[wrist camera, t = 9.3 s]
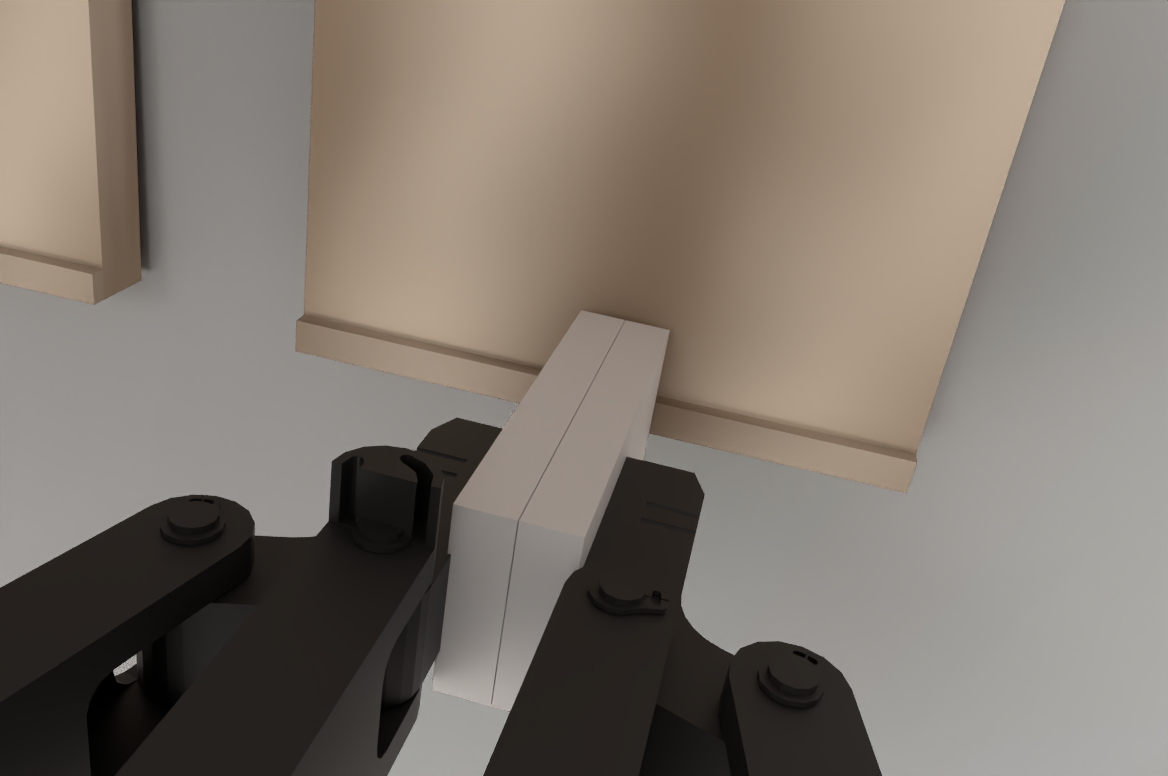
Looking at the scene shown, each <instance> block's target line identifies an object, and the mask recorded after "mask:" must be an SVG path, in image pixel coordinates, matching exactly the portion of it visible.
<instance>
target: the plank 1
mask: <svg viewBox="0 0 1168 776" xmlns="http://www.w3.org/2000/svg"><path fill="white" fill-rule="evenodd" d="M139 281H141V254H140V226H139V198H138V170H137V142H136V114H135V86H134V58H133V30H132V2H131V0H0V283H3V284H8V285H12V286H16V287H21V288H25V289H29V290H34V291H38V292H42V293H46V294H51V295H55V296H59V297H64V298H68V299H72V300H77V301H81V302H85V303H89V304H96V303H98V302H100V301H102V300H104V299H106V298H108V297H110V296H112V295H114V294H115V293H117V292H119V291H121V290H123V289H125V288H127V287H129V286H131V285H133V284H135V283H137V282H139Z"/></svg>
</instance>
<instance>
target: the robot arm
mask: <svg viewBox="0 0 1168 776" xmlns="http://www.w3.org/2000/svg"><path fill="white" fill-rule="evenodd" d="M669 332H670V330H667V329H663V328H658V327H654V326H650V325H645V324H641V323H636V322H632V321H627V320H623V319H619V318H614V317H610V316H605V315H601V314H596V313H592V312H588V311H583V310H581V311H580V313H579V314H578V316H577V317H576V319H575V320H574V322H573V323H572V325H571V326H570V328H569V330H568V331H567V333H566V334H565V336H564V337H563V339H562V340H561V342H560V343H559V345H558V346H557V348H556V349H555V351H554V352H553V354H552V355H551V357H550V358H549V360H548V361H547V363H546V364H545V366H544V367H543V369H542V370H541V372H540V373H539V375H538V376H537V378H536V379H535V381H534V382H533V384H532V385H531V387H530V389H529V390H528V392H527V393H526V395H525V396H524V398H523V399H522V401H521V402H520V404H519V405H518V407H517V408H516V410H515V411H514V413H513V414H512V416H511V417H510V419H509V420H508V422H507V423H506V425H505V426H504V428H503V429H501V428H497V427H493V426H489V425H485V424H481V423H477V422H472V421H468V420H464V419H460V418H455V419H453V420H451V421H449V422H447V423H445V424H443V425H440V426H438V427H436V428H434V429H432V430H431V431H430V432H429V433H428V435H427V436H426V437H425V438H424V440H423V441H422V442H421V443H420V445H419V446H418V447H417V451H412V450H410V449H406V448H399V447H392V446H370V447H362V448H358V449H355V450H351V451H348V452H345V453H343V454H342V455H340V456H339V457H337V458H336V459H334V460H333V461H332V470H331V488H330V507H329V522H328V523H327V524H326V525H325V526H324V527H323V529H322V530H321V531H320V532H319V533H318V535H317V536H314V537H294V538H291V537H271V536H254V535H255V523H254V520H253V518H252V516H251V514H250V512H249V511H248V510H247V509H245V508H244V507H242V506H241V505H239V504H238V503H237V502H235V501H231V500H228V499H224V498H221V497H217V496H208V495H206V496H205V495H189V496H182V497H175V498H170V499H167V500H164V501H162V502H159V503H157V504H154V505H151V506H149V507H147V508H146V509H144V510H142V511H140V512H138V513H136V514H135V515H133V516H131V517H129V518H127V519H125V520H124V521H122V522H120V523H118V524H116V525H115V526H113V527H111V528H109V529H107V530H105V531H104V532H102V533H100V534H98V535H96V536H94V537H93V538H91V539H89V540H87V541H85V542H83V543H82V544H80V545H78V546H76V547H74V548H72V549H71V550H69V551H67V552H65V553H63V554H61V555H60V556H58V557H56V558H54V559H52V560H50V561H49V562H47V563H45V564H43V565H41V566H39V567H38V568H36V569H34V570H32V571H30V572H28V573H27V574H25V575H23V576H21V577H19V578H17V579H16V580H14V581H12V582H10V583H8V584H6V585H5V586H3V587H1V588H0V776H387V775H388V773H389V771H390V769H391V767H392V765H393V763H394V761H395V760H396V758H397V756H398V754H399V752H400V750H401V748H402V746H403V744H404V742H405V740H406V738H407V736H408V735H409V733H410V731H411V729H412V727H413V725H414V723H415V721H416V719H417V715H418V710H419V706H420V697H421V688H422V682H423V681H424V679H425V677H426V675H427V673H428V672H429V670H430V668H431V666H432V664H433V662H434V661H435V667H434V676H433V685H432V690H434V691H437V692H441V693H444V694H448V695H452V696H455V697H459V698H462V699H466V700H469V701H473V702H476V703H480V704H483V705H487V706H491V704H492V706H491V707H494V708H498V709H501V710H505V711H508V712H510V714H509V716H508V718H507V721H506V723H505V725H504V728H503V730H502V733H501V735H500V737H499V740H498V742H497V744H496V747H495V749H494V751H493V754H492V756H491V759H490V761H489V763H488V766H487V768H486V770H485V773H484V775H483V776H882V774H881V771H880V769H879V766H878V763H877V760H876V757H875V754H874V751H873V749H872V746H871V743H870V740H869V737H868V734H867V732H866V729H865V726H864V723H863V720H862V717H861V714H860V712H859V709H858V706H857V703H856V700H855V697H854V695H853V692H852V689H851V688H850V686H849V684H848V683H847V681H846V679H845V678H844V676H843V674H842V673H841V672H840V671H839V670H838V669H837V668H835V667H834V666H833V665H832V664H831V663H830V662H828V661H827V660H826V659H825V658H824V657H822V656H820V655H818V654H816V653H814V652H811V651H809V650H807V649H805V648H803V647H800V646H796V645H792V644H788V643H784V642H779V641H776V642H756V643H753V644H751V645H748V646H746V647H743V648H740V650H739V651H738V652H737V653H736V654H735V656H734V655H732V654H730V653H728V652H727V651H725V650H723V649H721V648H719V647H717V646H716V645H714V644H713V643H711V642H709V641H708V640H706V639H705V638H704V637H703V636H701V635H700V634H699V633H698V632H697V631H696V630H695V629H694V628H693V627H692V626H691V624H690V623H689V622H688V620H687V619H686V617H685V615H684V612H683V610H682V607H681V594H682V590H683V585H684V581H685V577H686V572H687V568H688V564H689V559H690V555H691V551H692V546H693V542H694V538H695V533H696V529H697V525H698V520H699V516H700V512H701V507H702V503H703V499H704V492H703V490H702V488H701V486H700V484H699V482H698V480H697V478H696V475H695V473H692V472H688V471H684V470H680V469H676V468H672V467H668V466H663V465H659V464H655V463H651V462H647V461H643V460H644V455H645V450H646V445H647V440H648V435H649V430H650V425H651V420H652V415H653V410H654V406H655V401H656V396H657V391H658V386H659V381H660V376H661V371H662V366H663V361H664V357H665V352H666V347H667V342H668V337H669ZM135 654H136V655H137V664H135V665H134V666H133V667H131V668H130V669H128V670H127V671H125V672H123V673H121V674H119V675H117V676H114V674H113V670H114V669H115V668H117V667H118V666H119V665H121V664H122V663H124V662H125V661H127V660H128V659H130V658H131V657H133V656H134V655H135Z"/></svg>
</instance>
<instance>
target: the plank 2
mask: <svg viewBox="0 0 1168 776" xmlns="http://www.w3.org/2000/svg"><path fill="white" fill-rule="evenodd" d="M1064 3H1065V0H315V15H314V43H313V72H312V101H311V130H310V159H309V188H308V216H307V245H306V274H305V303H304V315H303V316H302V317H301V318H299V319H298V320H297V323H296V351H297V352H302V353H306V354H310V355H315V356H319V357H323V358H328V359H332V360H336V361H340V362H345V363H349V364H353V365H358V366H362V367H366V368H371V369H375V370H379V371H383V372H388V373H392V374H396V375H401V376H405V377H409V378H414V379H418V380H422V381H426V382H431V383H435V384H439V385H444V386H448V387H452V388H457V389H461V390H465V391H469V392H474V393H478V394H482V395H487V396H491V397H495V398H499V399H504V400H508V401H512V402H517V403H520V402H521V401H522V399H523V398H524V396H525V395H526V393H527V392H528V390H529V389H530V387H531V385H532V384H533V382H534V381H535V379H536V378H537V376H538V375H539V373H540V372H541V370H542V369H543V367H544V366H545V364H546V363H547V361H548V360H549V358H550V357H551V355H552V354H553V352H554V351H555V349H556V348H557V346H558V345H559V343H560V342H561V340H562V339H563V337H564V336H565V334H566V333H567V331H568V330H569V328H570V326H571V325H572V323H573V322H574V320H575V319H576V317H577V316H578V314H579V313H580V311H581V310H583V311H588V312H592V313H596V314H601V315H605V316H610V317H614V318H619V319H623V320H627V321H632V322H636V323H641V324H645V325H650V326H654V327H658V328H663V329H667V330H670V332H669V337H668V342H667V347H666V352H665V357H664V361H663V366H662V371H661V376H660V381H659V386H658V391H657V396H656V401H655V406H654V410H653V415H652V420H651V425H650V430H649V433H650V434H654V435H659V436H663V437H667V438H671V439H676V440H680V441H684V442H689V443H693V444H697V445H701V446H706V447H710V448H714V449H719V450H723V451H727V452H732V453H736V454H740V455H744V456H749V457H753V458H757V459H762V460H766V461H770V462H775V463H779V464H783V465H787V466H792V467H796V468H800V469H805V470H809V471H813V472H818V473H822V474H826V475H830V476H835V477H839V478H843V479H848V480H852V481H856V482H861V483H865V484H869V485H873V486H878V487H882V488H886V489H891V490H895V491H899V492H903V493H907V491H908V488H909V485H910V482H911V479H912V476H913V473H914V470H915V467H916V464H917V460H916V451H917V448H918V445H919V442H920V439H921V436H922V433H923V430H924V427H925V424H926V421H927V418H928V415H929V412H930V409H931V406H932V403H933V400H934V397H935V394H936V391H937V388H938V385H939V382H940V379H941V376H942V373H943V370H944V367H945V363H946V360H947V357H948V354H949V351H950V348H951V345H952V342H953V339H954V336H955V333H956V330H957V327H958V324H959V321H960V318H961V315H962V312H963V309H964V306H965V303H966V300H967V297H968V294H969V291H970V288H971V285H972V282H973V279H974V276H975V273H976V270H977V267H978V264H979V261H980V258H981V255H982V252H983V248H984V245H985V242H986V239H987V236H988V233H989V230H990V227H991V224H992V221H993V218H994V215H995V212H996V209H997V206H998V203H999V200H1000V197H1001V194H1002V191H1003V188H1004V185H1005V182H1006V179H1007V176H1008V173H1009V170H1010V167H1011V164H1012V161H1013V158H1014V155H1015V152H1016V149H1017V146H1018V143H1019V140H1020V136H1021V133H1022V130H1023V127H1024V124H1025V121H1026V118H1027V115H1028V112H1029V109H1030V106H1031V103H1032V100H1033V97H1034V94H1035V91H1036V88H1037V85H1038V82H1039V79H1040V76H1041V73H1042V70H1043V67H1044V64H1045V61H1046V58H1047V55H1048V52H1049V49H1050V46H1051V43H1052V40H1053V37H1054V34H1055V31H1056V28H1057V24H1058V21H1059V18H1060V15H1061V12H1062V9H1063V6H1064Z"/></svg>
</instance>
